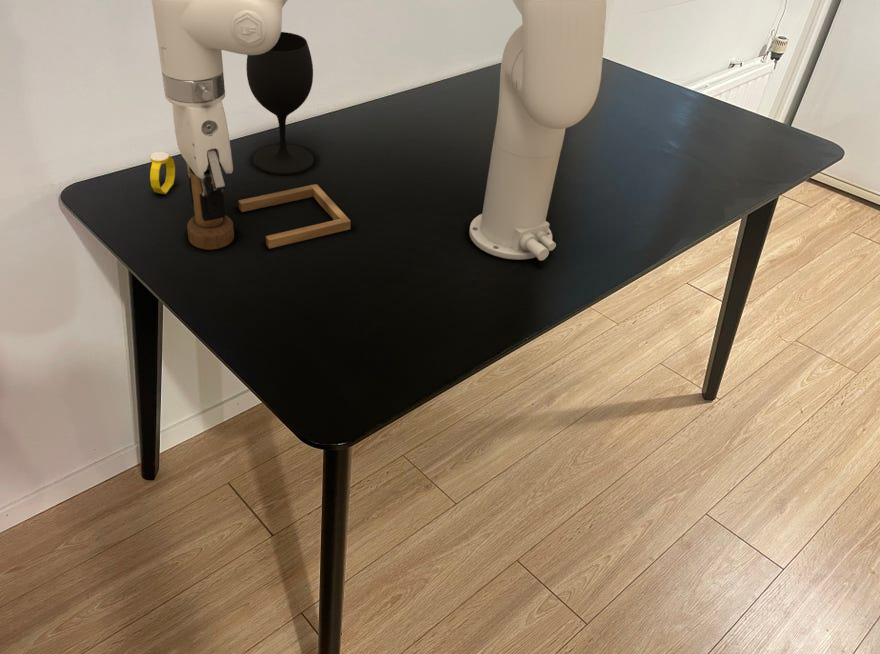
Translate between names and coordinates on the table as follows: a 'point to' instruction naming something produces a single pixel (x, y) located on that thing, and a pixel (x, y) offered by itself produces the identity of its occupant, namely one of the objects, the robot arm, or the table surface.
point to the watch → (156, 161)
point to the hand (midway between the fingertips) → (208, 209)
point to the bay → (304, 233)
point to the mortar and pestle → (207, 223)
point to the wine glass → (282, 98)
